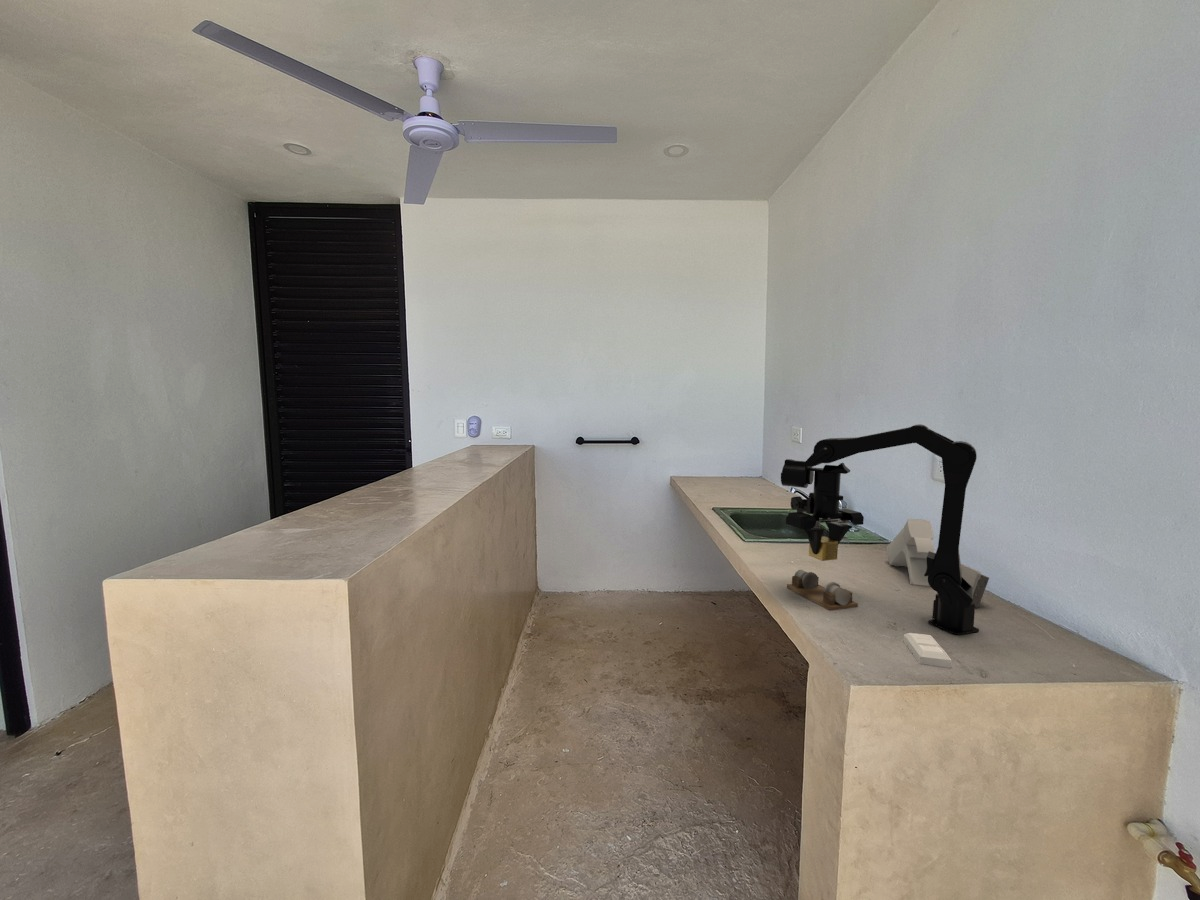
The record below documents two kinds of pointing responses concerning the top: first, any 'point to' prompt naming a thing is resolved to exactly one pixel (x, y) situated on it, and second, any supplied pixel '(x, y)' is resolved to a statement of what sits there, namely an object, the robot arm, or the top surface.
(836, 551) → the yellow hollow block
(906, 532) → the beige angular piece
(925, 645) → the soap bar
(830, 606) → the pipe cradle
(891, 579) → the top surface
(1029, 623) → the top surface
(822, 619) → the top surface
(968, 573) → the electrical switch
